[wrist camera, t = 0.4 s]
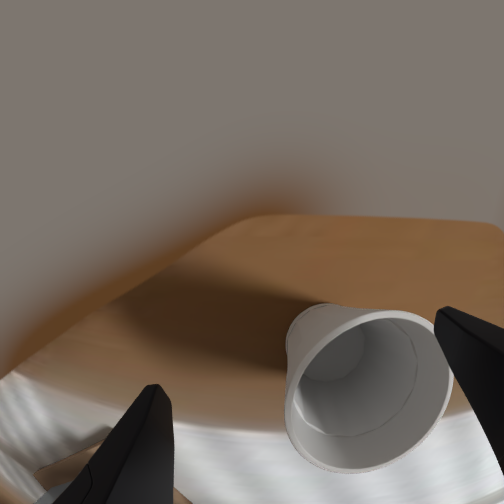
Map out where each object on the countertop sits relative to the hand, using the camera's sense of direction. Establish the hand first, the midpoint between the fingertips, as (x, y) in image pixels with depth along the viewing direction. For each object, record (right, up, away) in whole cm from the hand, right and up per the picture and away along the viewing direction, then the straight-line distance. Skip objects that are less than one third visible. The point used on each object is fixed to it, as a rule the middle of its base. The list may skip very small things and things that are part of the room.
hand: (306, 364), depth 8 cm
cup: (+4, -4, +14) cm, 15 cm away
